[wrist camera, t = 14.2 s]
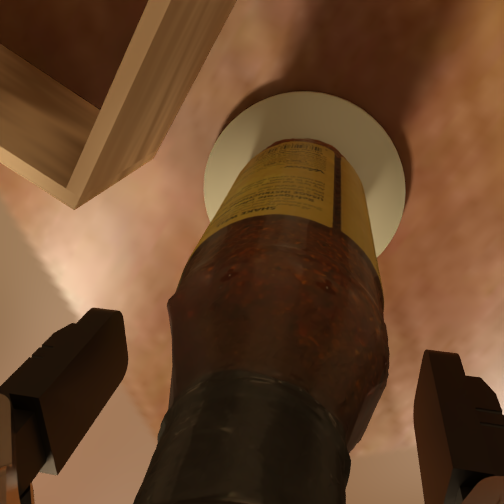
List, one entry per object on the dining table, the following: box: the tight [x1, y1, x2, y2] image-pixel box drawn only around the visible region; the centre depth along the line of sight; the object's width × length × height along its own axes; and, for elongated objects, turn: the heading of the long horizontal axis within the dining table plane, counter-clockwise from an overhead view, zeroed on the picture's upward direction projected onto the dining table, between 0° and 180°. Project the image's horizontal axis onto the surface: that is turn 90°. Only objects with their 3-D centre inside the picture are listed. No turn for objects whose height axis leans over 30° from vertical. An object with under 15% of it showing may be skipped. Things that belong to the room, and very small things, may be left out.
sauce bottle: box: [133, 138, 389, 504], centre depth 15 cm, size 6×6×20 cm
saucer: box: [204, 91, 406, 257], centre depth 24 cm, size 10×10×1 cm
